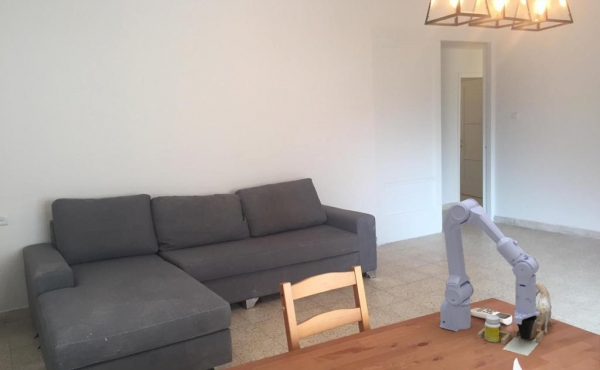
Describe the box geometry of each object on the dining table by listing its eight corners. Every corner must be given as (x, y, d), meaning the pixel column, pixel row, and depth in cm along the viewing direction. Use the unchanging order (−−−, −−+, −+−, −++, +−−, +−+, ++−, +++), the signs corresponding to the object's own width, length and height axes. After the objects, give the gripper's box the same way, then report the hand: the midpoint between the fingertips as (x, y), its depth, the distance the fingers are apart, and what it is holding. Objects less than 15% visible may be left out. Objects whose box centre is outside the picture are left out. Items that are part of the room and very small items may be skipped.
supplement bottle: (502, 346, 154) (502, 320, 153) (486, 345, 155) (486, 319, 154) (499, 339, 159) (499, 314, 158) (483, 338, 160) (483, 313, 159)
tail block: (518, 335, 156) (519, 319, 156) (522, 334, 159) (524, 318, 159) (531, 338, 153) (533, 322, 154) (535, 337, 156) (537, 321, 157)
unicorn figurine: (546, 316, 175) (547, 279, 173) (561, 340, 156) (561, 299, 154) (524, 315, 176) (525, 278, 175) (536, 339, 158) (536, 298, 156)
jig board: (473, 344, 156) (473, 335, 156) (492, 326, 168) (492, 318, 168) (527, 358, 145) (527, 349, 145) (544, 339, 157) (544, 330, 157)
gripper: (531, 306, 144) (530, 350, 146) (546, 292, 155) (546, 333, 157) (506, 301, 149) (506, 344, 151) (523, 287, 160) (523, 328, 161)
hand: (525, 338), depth 154 cm, fingers closed
